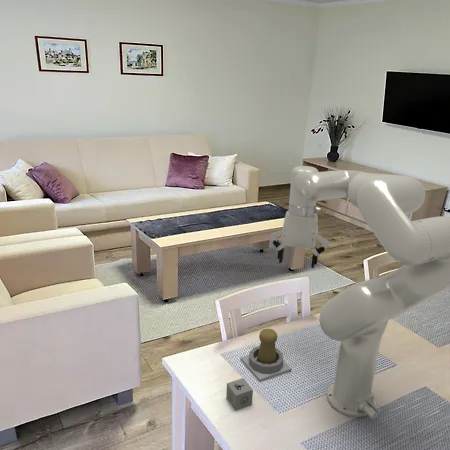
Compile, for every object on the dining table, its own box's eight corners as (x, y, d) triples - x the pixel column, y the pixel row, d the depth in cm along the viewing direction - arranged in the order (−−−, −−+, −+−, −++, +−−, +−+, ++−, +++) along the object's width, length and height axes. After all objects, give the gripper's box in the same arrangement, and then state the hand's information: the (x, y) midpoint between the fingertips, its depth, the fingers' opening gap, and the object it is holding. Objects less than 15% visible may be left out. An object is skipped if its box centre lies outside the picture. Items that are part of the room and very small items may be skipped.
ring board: (291, 371, 125) (292, 361, 124) (259, 382, 120) (260, 372, 119) (270, 350, 134) (271, 341, 133) (240, 360, 129) (240, 350, 128)
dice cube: (226, 398, 114) (226, 383, 112) (242, 393, 116) (243, 377, 114) (235, 411, 110) (236, 395, 108) (251, 405, 112) (252, 389, 110)
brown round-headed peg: (263, 354, 130) (265, 323, 127) (280, 362, 127) (283, 330, 123) (252, 363, 126) (254, 331, 122) (269, 372, 122) (271, 340, 119)
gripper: (333, 209, 124) (327, 263, 129) (274, 202, 128) (271, 255, 134) (331, 217, 117) (324, 273, 123) (269, 209, 122) (266, 264, 127)
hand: (296, 263), depth 128 cm, fingers open, 9 cm apart
